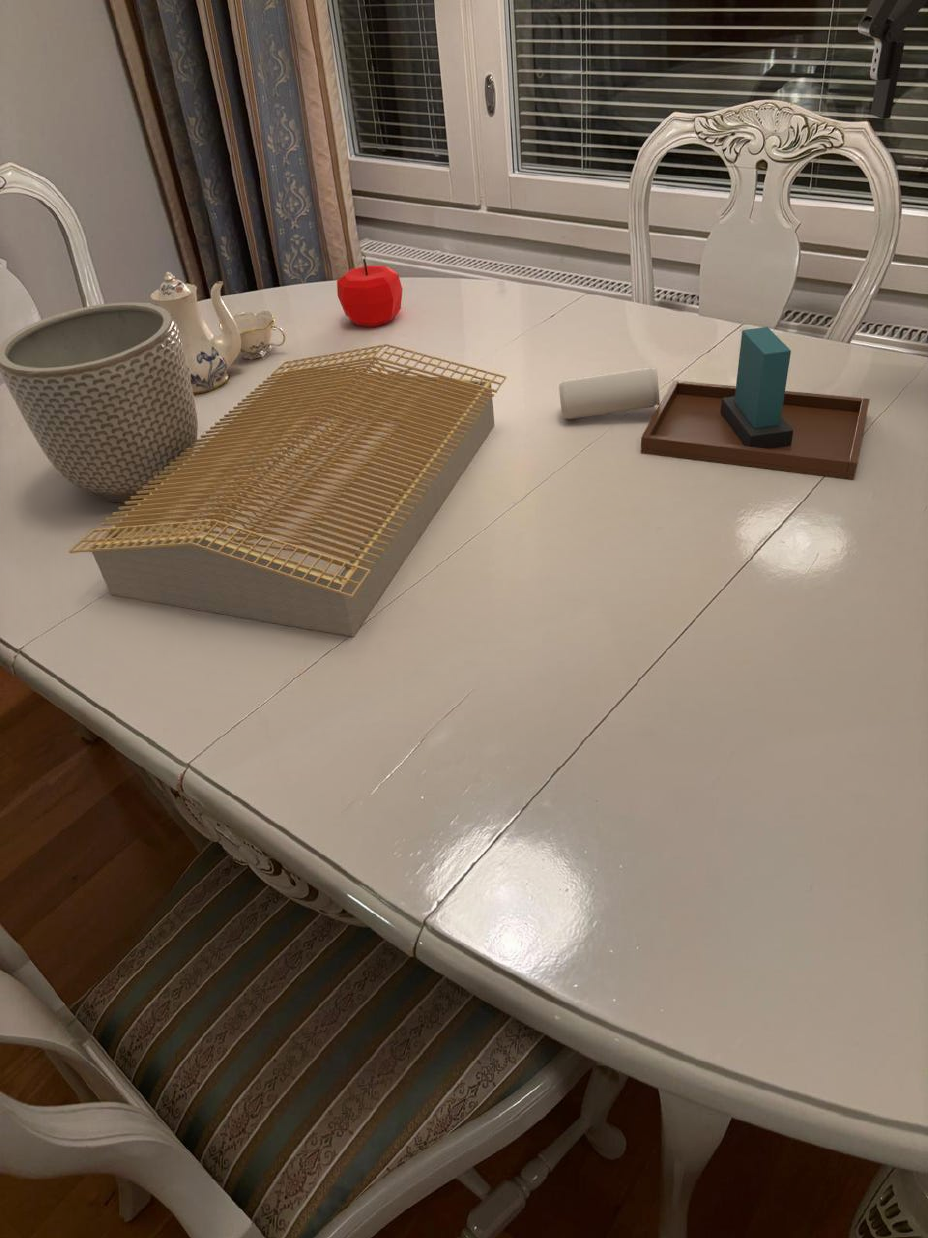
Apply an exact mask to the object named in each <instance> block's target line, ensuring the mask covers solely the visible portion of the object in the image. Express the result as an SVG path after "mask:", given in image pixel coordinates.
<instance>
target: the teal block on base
mask: <svg viewBox="0 0 928 1238" xmlns="http://www.w3.org/2000/svg"><path fill="white" fill-rule="evenodd" d="M791 354H792V350H791V349H790V348H789V347H788V346H787V344H785V343H784V342H783V341H782V340H781V339H780V337H778V336H777V335H776V334H775V333H774V332H773V331H772V330H771V328H770V327H768V326H761V327H756V328H747V329H742V330H741V339H740V347H739V356H738V365H737V374H736V383H735V386H736V391H735V396H734V397H726V398H722V402H721V412H720V413H721V414H722V415H723V417H724V418H725V420H726V421H727V422H728V424H729V425H730V426H731V428H732V429H733V430H734V432H735V433H736V435H737V436H738V437H739V439H740V440H741V441H742V443H743V444H744V446H748V447H757V448H765V449H770V448H778V447H785V446H791V443H792V437H793V429H792V428H791V427H790V426H789V425H788V423H787V422H786V421H785V420H784V419H783V417H782V416H781V414H782V408H783V401H784V394H785V391H786V387H787V381H788V374H789V368H790V361H791Z"/></svg>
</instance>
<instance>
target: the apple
mask: <svg viewBox="0 0 928 1238" xmlns="http://www.w3.org/2000/svg"><path fill="white" fill-rule="evenodd" d="M362 263H363V266H360V267H359V266H358V267H355V268H351V269H349V271H347V272H345V273H344V274H343V275H342V276H341V277H340V278H339V279H337V280H336V291H337V292H336V293H337V298H338V300H339V302H340V305H341V307H342V310H343V312H344V314H345V316H346V317H347V318H348V319H349V320H350V321H351V322H353V323H355V324H356V325H357V326H358V327H368V328H375V327H379V326H382V325H386V324H388V323H389V322H390V321H392V320H393V319H394V318H396V316H397V315H398V313H399V312H400V311H401V309H402V300H403V286H402V282H401V278H400V275H399V274H398V272H396V271H395V270H393V269H392V268H391V267H389V266H387V265H367V264H368V263H367V252H366V253H363V259H362Z"/></svg>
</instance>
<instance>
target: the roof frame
mask: <svg viewBox="0 0 928 1238" xmlns="http://www.w3.org/2000/svg"><path fill="white" fill-rule="evenodd" d="M386 347H387V348H386ZM384 348H386V349H384ZM391 348H392V349H393V351H392V352H390V351H389V349H391ZM383 349H384V351H383V352H382V353H380V352H381V351H382V350H383ZM369 350H371V351H369ZM398 350H400V351H403V352H402V354H398V353H396V352H397V351H398ZM362 351H363V352H362ZM361 352H362V353H361ZM353 353H354V354H353ZM379 353H380V355H379V356H377V355H378V354H379ZM406 353H410V354H411V356H410V357H408V356H404V355H405V354H406ZM346 354H347V355H346ZM384 354H386V355H388V356H387V357H386V358H383V356H384ZM371 355H372V356H371ZM415 355H418V356H421V357H420V358H419V359H418V358H417V359H416V358H413V357H415ZM363 356H365V357H363ZM392 356H395V357H397V359H396V360H394V361H393V360H390V358H391V357H392ZM356 357H357V358H356ZM362 357H363V358H362ZM355 358H356V359H355ZM424 358H429V361H423V359H424ZM347 359H348V360H347ZM400 359H404V360H406V361H405V362H404V363H401V362H400V363H399V361H400ZM339 360H341V361H339ZM433 360H436V361H439V362H438V363H437V364H434V363H432V361H433ZM307 361H308V362H307ZM332 361H333V362H332ZM410 361H411V362H412V361H413V362H416V363H415V364H414V365H413V366H411V365H407V364H408V363H409V362H410ZM331 362H332V363H331ZM293 363H294V364H293ZM324 363H325V364H324ZM442 363H447V365H446V366H445V367H444V366H440V365H441V364H442ZM316 364H317V365H316ZM418 364H422V365H423V367H422V368H419V367H417V366H418ZM309 365H310V366H309ZM377 365H378V366H377ZM393 365H394V366H393ZM451 365H455V366H457V367H456V368H455V369H453V368H450V366H451ZM308 366H309V367H308ZM428 366H431V367H434V368H433V369H432V370H431V371H429V370H426V368H427V367H428ZM400 367H401V368H400ZM460 367H462V368H465V371H464V372H462V371H459V368H460ZM388 368H389V369H388ZM404 368H405V369H404ZM374 369H375V370H374ZM437 369H441V370H442V371H441V373H437V372H435V371H436V370H437ZM394 370H395V371H394ZM469 370H473V371H475V372H474V373H473V374H471V373H468V371H469ZM278 371H279V372H278ZM446 371H449V372H452V373H451V374H450V376H447V375H444V373H445V372H446ZM384 372H385V373H384ZM478 372H480V373H483V374H484V375H483V376H482V377H480V376H477V374H478ZM422 373H423V374H422ZM455 374H459V375H460V377H459V378H455V377H453V376H454V375H455ZM487 375H491V376H494V377H492V379H490V378H486V376H487ZM464 376H467V377H470V378H463V377H464ZM497 377H498V378H502V381H501V382H499V381H495V380H496V378H497ZM506 379H507V376H506V375H503V374H498V373H495V372H491V371H488V370H484V369H480V368H477V367H473V366H470V365H465V364H461V363H458V362H454V361H452V360H448V359H443V358H439V357H436V356H432V355H429V354H425V353H422V352H418V351H414V350H410V349H407V348H403V347H400V346H397V345H396V346H395V345H393V344H388V343H385V344H378V345H374V346H368V347H362V348H357V349H351V350H345V351H339V352H334V353H328V354H323V355H316V356H311V357H305V358H299V359H294V360H288V361H284V362H283V363H281V364H280V365H279V367H277V368H276V369H275V370H274V371H273V372H271V373H270V376H268V377H266V380H262V383H261V384H258V387H255V388H254V390H253V391H250V392H249V393H250V394H248V395H245V398H242V399H241V402H237V406H233V407H232V409H233V410H228V413H227V414H224V415H223V417H222V418H219V422H214V426H209V429H210V430H205V434H201V435H200V438H199V439H198V438H197V440H196V444H190V445H191V447H193V446H195V447H194V448H186V451H192V450H193V452H185V453H180V454H181V456H183V455H191V454H192V455H191V456H184V457H176V458H175V459H176V460H182V459H188V460H184V461H176V462H170V465H174V464H182V463H184V464H182V465H177V466H168V467H165V470H166V469H175V468H178V469H177V470H169V471H161V472H159V473H160V474H168V473H172V474H171V475H163V476H154V479H161V478H167V479H165V480H156V481H148V484H155V483H161V484H160V485H151V486H142V488H143V489H149V488H156V489H154V490H146V491H137V494H144V493H150V494H149V495H141V496H131V499H140V498H144V499H143V500H138V501H128V502H125V503H124V504H125V506H118V510H120V511H114V512H112V517H106V518H105V519H106V522H101V523H99V526H100V527H103V528H93V529H92V530H91V531H90V532H89V533H87V534H86V535H85V536H84V537H83V538H81V540H79V541H78V542H77V543H76V544H75V545H74V546H73V547H71V549H69V550H68V553H69V554H76V553H91V554H92V555H93V557H94V560H95V562H96V564H97V567H98V569H99V571H100V574H101V576H102V578H103V580H104V583H105V585H106V587H107V589H108V591H109V594H110V595H111V596H117V597H122V598H128V599H133V600H134V599H135V600H140V601H144V602H145V601H146V602H151V603H157V604H163V605H169V606H175V607H181V608H185V609H192V610H198V611H203V612H209V613H214V614H219V615H226V616H232V617H238V618H243V619H249V620H255V621H261V622H266V623H272V624H277V625H283V626H288V627H289V626H290V627H294V628H300V629H307V630H311V631H317V632H324V633H329V634H333V635H334V634H335V635H341V636H347V637H352V638H354V637H355V636H356V634H357V632H358V631H359V629H360V628H361V627H362V625H363V623H364V622H365V620H366V619H367V617H368V616H369V614H370V613H371V611H372V610H373V608H374V607H375V605H377V603H378V601H379V599H380V598H381V596H382V595H383V594H384V592H385V590H386V589H387V588H388V586H389V584H390V583H391V581H392V580H393V578H394V577H395V575H396V574H397V572H398V571H399V570H400V568H401V566H402V565H403V564H404V562H405V560H406V559H407V557H408V556H409V555H410V553H411V551H412V550H413V548H414V547H415V545H416V544H417V542H418V541H419V539H420V538H421V537H422V535H423V533H424V532H425V530H426V529H427V527H428V526H429V524H430V523H431V521H432V520H433V518H434V517H435V515H436V514H437V512H438V511H439V509H440V508H441V506H442V505H443V503H444V502H445V501H446V499H447V498H448V496H449V494H450V492H451V491H452V490H453V488H454V487H455V485H456V484H457V482H458V481H459V479H460V478H461V477H462V475H463V474H464V472H465V470H466V469H467V467H468V466H469V464H470V463H471V461H472V459H473V458H474V457H475V455H476V454H477V452H478V451H479V449H480V448H481V446H482V445H483V443H484V442H485V440H486V439H487V438H488V436H489V434H490V433H491V432H492V430H493V428H494V427H495V414H494V413H495V412H494V402H493V398H494V397H495V394H497V393H498V391H499V390H500V388H501V387H502V385H503V384H504V382H505V381H506ZM492 384H496V385H498V387H497V388H496V389H495V388H493V387H492ZM494 393H495V394H494ZM327 423H328V424H327ZM389 424H390V425H389ZM320 427H322V428H320ZM383 428H384V429H383ZM385 428H386V429H385ZM313 436H314V437H313ZM373 437H376V438H373ZM377 437H378V438H377ZM305 440H306V441H305ZM368 441H369V442H368ZM374 442H376V443H374ZM302 445H304V446H302ZM365 446H366V447H365ZM367 446H368V447H367ZM296 449H297V450H296ZM298 450H299V451H298ZM361 451H365V452H361ZM291 454H292V455H291ZM355 455H356V456H355ZM358 456H359V457H358ZM361 456H362V457H361ZM286 459H288V460H286ZM349 460H353V461H349ZM355 461H357V462H355ZM282 464H283V465H282ZM345 465H349V466H345ZM350 466H352V467H350ZM340 470H344V471H340ZM345 471H348V472H345ZM334 475H340V476H344V477H339V476H334ZM328 480H332V481H333V480H334V481H339V482H332V481H328ZM291 481H292V482H291ZM323 485H327V486H333V487H326V486H323ZM334 487H336V488H334ZM317 490H318V491H317ZM319 491H327V492H329V493H325V492H319ZM309 495H311V496H309ZM266 496H268V497H266ZM312 496H313V497H312ZM314 496H319V497H323V498H318V497H317V498H316V497H314ZM275 497H277V498H275ZM325 498H327V499H325ZM259 501H260V502H259ZM305 501H310V502H316V503H319V504H316V503H315V504H314V503H309V502H305ZM261 502H263V503H261ZM126 505H127V506H126ZM250 506H252V507H250ZM298 506H300V507H298ZM253 507H257V508H258V509H257V508H253ZM302 507H309V508H312V510H311V509H304V508H302ZM264 508H265V509H264ZM313 509H315V510H313ZM123 510H125V511H123ZM290 511H291V512H290ZM245 512H247V513H245ZM248 512H249V513H252V514H253V515H251V514H249V513H248ZM294 512H298V513H305V514H309V515H311V516H309V515H301V514H297V513H294ZM202 513H204V514H202ZM260 514H261V515H260ZM122 515H124V516H122ZM113 516H114V517H113ZM240 518H246V519H247V521H246V520H243V519H240ZM288 518H293V519H300V520H303V521H296V520H292V519H288ZM196 519H197V520H196ZM109 521H111V522H109ZM112 521H114V522H112ZM306 521H307V522H306ZM232 523H234V524H240V525H241V526H237V525H233V524H232ZM280 523H284V524H291V525H295V526H298V527H293V526H292V527H291V526H286V525H283V524H280ZM109 526H111V527H109ZM193 526H194V527H193ZM242 526H243V527H242ZM248 526H249V527H248ZM299 527H301V528H299ZM216 528H219V529H221V530H215V529H216ZM227 529H229V530H235V532H230V531H227ZM274 529H278V530H286V531H290V532H293V533H295V534H293V533H285V532H280V531H277V530H274ZM326 530H327V531H326ZM103 532H104V533H103ZM332 532H333V533H332ZM94 533H95V534H94ZM102 533H103V534H102ZM359 533H360V534H359ZM93 534H94V535H93ZM101 534H102V535H101ZM215 534H216V535H215ZM264 534H266V535H264ZM314 534H315V535H314ZM92 535H93V536H92ZM99 535H101V536H99ZM222 535H223V536H229V538H226V537H223V536H222ZM267 535H273V536H274V535H275V536H280V537H284V538H286V539H280V538H279V539H278V538H274V537H271V536H267ZM317 535H318V536H317ZM91 536H92V537H91ZM320 536H321V537H320ZM90 537H91V538H90ZM97 537H99V538H97ZM236 537H238V538H240V539H237V538H236ZM89 538H90V539H89ZM287 539H290V540H287ZM252 540H257V541H256V542H251V541H252ZM261 541H265V542H267V541H268V542H270V543H269V544H264V543H260V542H261ZM311 541H312V542H311ZM336 541H337V542H336ZM314 542H316V543H314ZM339 542H340V543H339ZM83 543H84V544H83ZM274 543H276V544H279V545H282V546H278V545H274ZM317 543H319V544H317ZM81 544H83V545H81ZM320 544H321V545H320ZM348 545H350V546H348ZM88 546H89V547H88ZM78 547H79V548H78ZM86 547H87V548H86ZM256 547H258V548H265V549H264V550H261V549H258V548H256ZM305 547H306V548H305ZM355 547H356V548H355ZM77 548H78V549H77ZM333 548H334V549H333ZM269 549H273V550H278V551H277V552H276V554H275V553H272V552H269V551H268V550H269ZM311 549H312V550H311ZM336 549H337V550H336ZM314 550H315V551H314ZM282 551H284V552H285V551H286V552H291V554H289V556H288V558H285V557H282V556H279V555H280V554H281V553H282ZM317 551H318V552H317ZM342 551H343V552H342ZM345 552H346V553H345ZM296 553H300V554H302V555H304V556H303V557H302V559H301V560H300V561H297V560H295V559H292V557H293V556H294V555H296ZM324 553H325V554H324ZM348 553H349V554H348ZM326 554H328V555H326ZM352 554H353V555H352ZM329 555H331V556H329ZM308 556H309V557H311V558H315V559H316V560H315V561H314V563H313V564H312V565H311V566H309V565H307V564H304V563H303V562H304V561H305V560H306V559H307V557H308ZM332 556H334V557H332ZM335 557H337V558H335ZM338 558H340V559H338ZM342 559H344V560H342ZM320 560H321V561H323V562H327V563H328V564H327V565H326V566H325V568H324V569H322V568H318V567H316V566H317V564H318V563H319V561H320ZM346 560H347V561H346ZM348 561H349V562H348ZM332 564H334V565H336V566H340V568H339V569H338V571H337V572H336V573H331V572H328V571H327V570H328V569H329V568H330V567H331V565H332Z"/></svg>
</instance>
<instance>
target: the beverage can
mask: <svg viewBox="0 0 928 1238" xmlns="http://www.w3.org/2000/svg"><path fill="white" fill-rule="evenodd" d="M658 377H659V376H658V371H657V367H653V368H652V367H649V366H648V367H643V368H636V369H630V370H624V371H618V372H617V371H616V372H610V373H605V374H596V375H590V376H585V377H578V378H571V379H565V380H562V381H561V382H560V383H559V387H558V389H559V401H560V409H561V415H562V417H563V418H565V419H567V420H572V419H578V418H587V417H592V416H593V417H594V416H599V415H601V416H602V415H605V414H606V415H608V414H614V413H621V412H627V411H634V410H635V411H636V410H642V409H649V408H654V407H655V406H659V405H660V403H661V401H660V387H659V378H658Z"/></svg>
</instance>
